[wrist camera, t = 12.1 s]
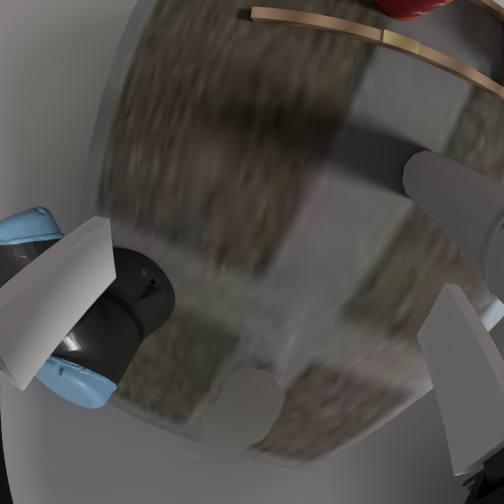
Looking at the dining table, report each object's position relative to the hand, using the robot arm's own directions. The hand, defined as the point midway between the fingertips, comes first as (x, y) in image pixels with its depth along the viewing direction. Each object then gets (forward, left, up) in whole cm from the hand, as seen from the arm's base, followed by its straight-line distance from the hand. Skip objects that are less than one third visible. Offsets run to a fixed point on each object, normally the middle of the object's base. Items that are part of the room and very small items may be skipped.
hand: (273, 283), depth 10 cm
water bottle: (+18, +2, -27) cm, 32 cm away
